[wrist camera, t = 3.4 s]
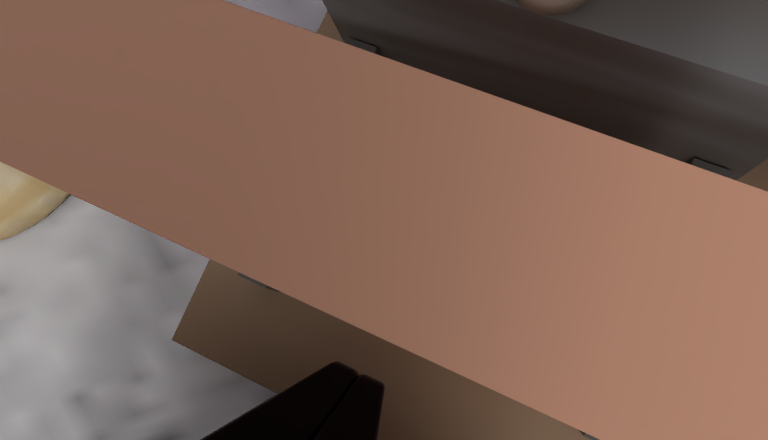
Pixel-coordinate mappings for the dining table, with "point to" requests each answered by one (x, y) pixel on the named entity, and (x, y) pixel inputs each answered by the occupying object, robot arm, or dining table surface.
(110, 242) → the dining table surface
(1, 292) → the dining table surface
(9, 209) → the hand bell
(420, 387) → the switch base
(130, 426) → the dining table surface
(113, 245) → the dining table surface
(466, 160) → the reddish brown rectangular bar
